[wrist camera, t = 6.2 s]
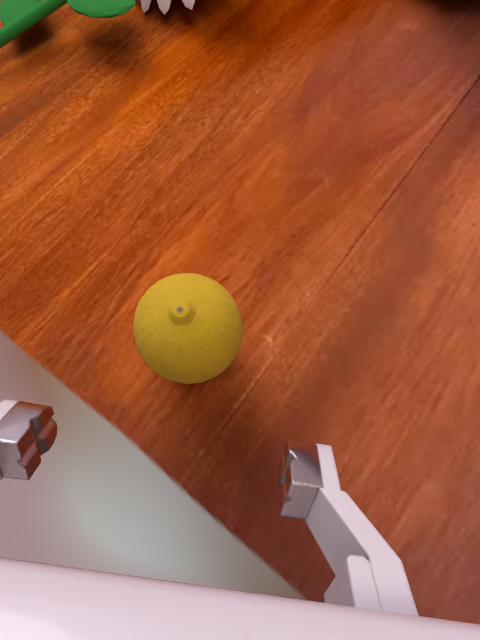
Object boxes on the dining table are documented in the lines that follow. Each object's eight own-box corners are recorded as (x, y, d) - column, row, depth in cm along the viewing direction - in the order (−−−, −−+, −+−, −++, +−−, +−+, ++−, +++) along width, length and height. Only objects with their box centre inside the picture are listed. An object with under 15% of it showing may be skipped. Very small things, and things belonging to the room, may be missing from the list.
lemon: (157, 299, 22) (120, 242, 14) (241, 304, 22) (251, 251, 14) (147, 384, 20) (100, 374, 12) (237, 389, 20) (245, 382, 13)
